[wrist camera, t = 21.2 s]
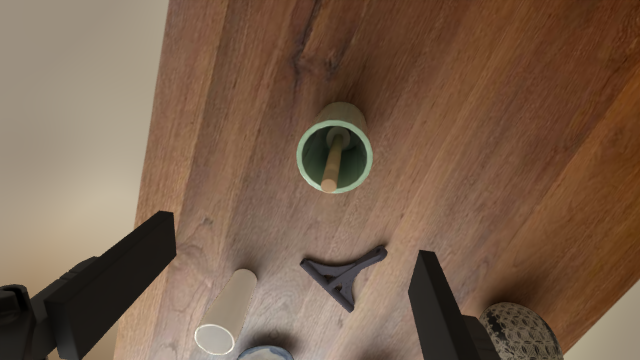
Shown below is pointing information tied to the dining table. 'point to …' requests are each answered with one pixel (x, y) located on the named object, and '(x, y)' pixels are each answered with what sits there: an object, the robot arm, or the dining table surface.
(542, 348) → the decorative egg
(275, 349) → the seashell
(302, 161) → the vase
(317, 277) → the bracket
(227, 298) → the drinking glass
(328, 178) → the bottle brush
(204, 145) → the dining table surface
